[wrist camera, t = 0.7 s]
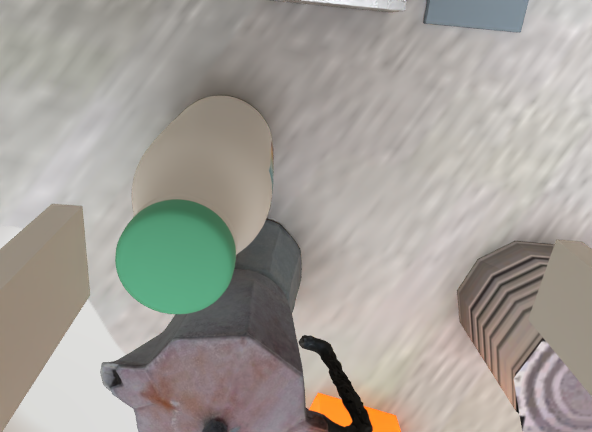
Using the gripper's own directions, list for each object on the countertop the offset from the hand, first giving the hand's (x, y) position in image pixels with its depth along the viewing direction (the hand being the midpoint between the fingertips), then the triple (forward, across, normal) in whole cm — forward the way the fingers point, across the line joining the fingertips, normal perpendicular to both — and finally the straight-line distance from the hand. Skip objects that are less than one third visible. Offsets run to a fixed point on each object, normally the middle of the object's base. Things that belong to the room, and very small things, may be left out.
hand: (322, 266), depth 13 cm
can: (+24, +22, -15) cm, 36 cm away
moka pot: (+24, -2, -13) cm, 28 cm away
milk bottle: (+25, -5, -3) cm, 25 cm away
